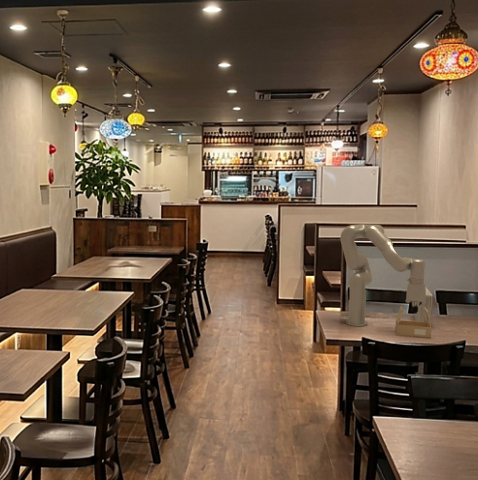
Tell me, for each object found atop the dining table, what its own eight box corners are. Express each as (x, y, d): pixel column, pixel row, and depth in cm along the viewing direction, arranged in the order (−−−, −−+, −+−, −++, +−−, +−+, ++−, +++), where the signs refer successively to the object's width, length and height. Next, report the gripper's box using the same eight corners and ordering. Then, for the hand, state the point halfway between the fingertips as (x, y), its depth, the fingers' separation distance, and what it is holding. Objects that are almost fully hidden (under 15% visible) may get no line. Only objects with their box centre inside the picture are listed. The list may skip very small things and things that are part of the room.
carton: (397, 335, 298) (397, 325, 298) (395, 330, 310) (395, 319, 309) (430, 338, 295) (431, 327, 294) (427, 332, 307) (428, 322, 306)
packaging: (430, 329, 315) (433, 295, 313) (420, 328, 316) (422, 295, 314) (423, 317, 344) (425, 286, 342) (413, 316, 345) (415, 285, 343)
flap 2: (430, 325, 295) (427, 311, 295) (427, 321, 305) (424, 307, 305) (431, 325, 295) (428, 311, 294) (428, 321, 305) (425, 307, 305)
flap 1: (398, 323, 298) (402, 309, 297) (396, 318, 309) (400, 305, 307) (398, 323, 298) (403, 310, 297) (397, 319, 309) (401, 306, 307)
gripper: (403, 281, 297) (401, 313, 299) (431, 283, 294) (429, 315, 296) (402, 279, 304) (400, 310, 306) (429, 280, 301) (427, 312, 303)
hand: (414, 313), depth 301 cm, fingers closed
